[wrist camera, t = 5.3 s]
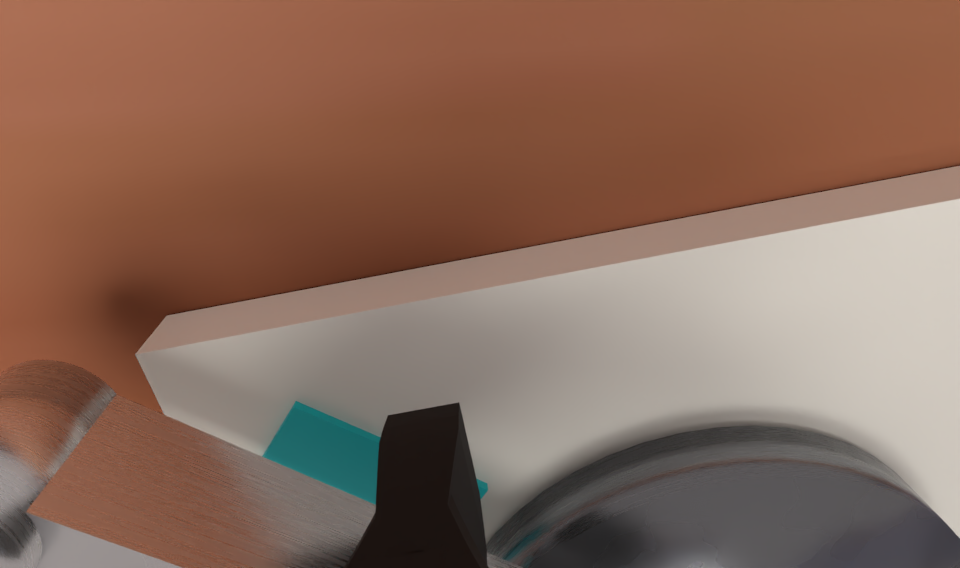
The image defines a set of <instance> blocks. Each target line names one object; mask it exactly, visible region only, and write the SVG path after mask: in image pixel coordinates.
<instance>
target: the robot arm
mask: <svg viewBox="0 0 960 568" xmlns="http://www.w3.org/2000/svg"><path fill="white" fill-rule="evenodd" d="M344 568H489V567H488V565H487V548H486V540H485V531H484V523H483V515H482V507H481V499H480V492H479V488H478V484H477V479H476V475H475V470H474V466H473V461H472V457H471V452H470V448H469V443H468V439H467V435H466V430H465V426H464V421H463V417H462V412H461V408H460V403H459V402H458V403H453V404H447V405H442V406H436V407H431V408H425V409H420V410H414V411H409V412H403V413H398V414H392V415H388V416H387V419H386V422H385V425H384V427H383V431H382V434H381V438H380V441H379V452H378V469H377V489H376V510H375V514H374V516H373V518H372V520H371V521H370V523H369V525H368V527H367V529H366V530H365V532H364V534H363V536H362V537H361V539H360V541H359V543H358V545H357V546H356V548H355V550H354V552H353V553H352V555H351V557H350V558H349V560H348V562H347V563H346V565H345V566H344Z"/></svg>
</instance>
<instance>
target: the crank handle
mask: <svg viewBox="0 0 960 568" xmlns="http://www.w3.org/2000/svg"><path fill="white" fill-rule="evenodd" d="M375 510H376V505H375V504H372V503H370V502H368V501H365V500H363V499H361V498H358V497H356V496H354V495H351V494H349V493H347V492H344V491H342V490H339V489H337V488H335V487H332V486H330V485H328V484H325V483H323V482H321V481H318V480H316V479H314V478H311V477H309V476H307V475H304V474H302V473H300V472H297V471H295V470H293V469H290V468H288V467H286V466H283V465H281V464H278V463H276V462H274V461H271V460H269V459H267V458H264V457H262V456H260V455H257V454H255V453H253V452H250V451H248V450H246V449H243V448H241V447H239V446H236V445H234V444H232V443H229V442H227V441H225V440H222V439H220V438H217V437H215V436H213V435H210V434H208V433H206V432H203V431H201V430H199V429H196V428H194V427H192V426H189V425H187V424H185V423H182V422H180V421H178V420H175V419H173V418H171V417H168V416H166V415H164V414H161V413H159V412H156V411H154V410H152V409H149V408H147V407H145V406H142V405H140V404H138V403H135V402H133V401H131V400H128V399H126V398H124V397H121V396H119V395H117V394H116V393H115V392H114V391H113V390H112V388H111V387H109V386H108V385H107V384H106V383H105V382H104V381H103V380H101V379H100V378H99V377H97V376H96V375H94V374H92V373H91V372H89V371H87V370H85V369H83V368H80V367H78V366H75V365H72V364H68V363H65V362H59V361H53V360H33V361H27V362H23V363H19V364H16V365H14V366H12V367H10V368H8V369H6V370H5V371H3V372H2V373H1V374H0V568H344V566H345V565H346V563H347V562H348V560H349V558H350V557H351V555H352V553H353V552H354V550H355V548H356V546H357V545H358V543H359V541H360V539H361V537H362V536H363V534H364V532H365V530H366V529H367V527H368V525H369V523H370V521H371V520H372V518H373V516H374V514H375ZM486 548H487V565H488V567H489V568H960V538H959V537H958V536H957V535H956V534H955V533H954V532H953V530H952V529H951V528H950V527H949V526H948V525H947V524H946V523H945V522H944V521H943V520H942V519H941V518H940V517H939V516H938V515H937V514H936V513H935V512H934V511H933V510H932V509H931V508H930V507H929V506H928V504H927V503H926V502H925V501H924V500H923V499H922V498H921V497H920V496H919V495H918V494H917V493H916V492H915V491H914V490H913V489H912V488H911V487H910V486H909V485H908V484H907V483H906V482H905V481H904V480H903V479H902V478H901V477H900V476H899V475H898V474H897V473H896V472H895V471H893V470H892V469H891V468H889V467H888V466H887V465H886V464H884V463H883V462H882V461H880V460H879V459H878V458H876V457H875V456H873V455H871V454H869V453H867V452H865V451H863V450H861V449H860V448H858V447H856V446H854V445H852V444H850V443H847V442H844V441H841V440H838V439H835V438H832V437H829V436H826V435H823V434H819V433H814V432H809V431H803V430H798V429H793V428H784V427H769V426H733V427H716V428H709V429H703V430H696V431H690V432H683V433H678V434H674V435H670V436H666V437H663V438H659V439H655V440H651V441H647V442H643V443H641V444H638V445H635V446H632V447H630V448H627V449H624V450H621V451H619V452H616V453H613V454H611V455H608V456H606V457H604V458H602V459H600V460H597V461H595V462H593V463H591V464H589V465H587V466H585V467H583V468H581V469H579V470H577V471H575V472H573V473H571V474H570V475H568V476H567V477H565V478H563V479H562V480H560V481H559V482H557V483H555V484H554V485H552V486H550V487H549V488H547V489H546V490H544V491H543V492H541V493H540V494H539V495H538V496H536V497H535V498H534V499H532V500H531V501H530V502H529V503H527V504H526V505H525V506H524V507H522V508H521V509H520V510H518V511H517V512H516V513H515V514H514V515H513V516H512V517H511V518H510V519H509V520H508V521H507V522H506V523H505V524H504V525H503V526H502V527H501V528H500V529H499V530H498V531H497V532H496V533H495V534H494V535H493V537H492V538H491V539H490V540H489V542H488V543H487V544H486Z"/></svg>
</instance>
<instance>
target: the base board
mask: <svg viewBox="0 0 960 568" xmlns="http://www.w3.org/2000/svg"><path fill="white" fill-rule="evenodd" d="M135 356H136V358H137V360H138V362H139V364H140V366H141V368H142V370H143V372H144V374H145V376H146V378H147V380H148V382H149V384H150V386H151V388H152V390H153V392H154V394H155V396H156V398H157V401H158V403H159V405H160V407H161V409H162V411H163V413H164V415H166V416H168V417H171V418H173V419H175V420H178V421H180V422H182V423H185V424H187V425H189V426H192V427H194V428H196V429H199V430H201V431H203V432H206V433H208V434H210V435H213V436H215V437H217V438H220V439H222V440H225V441H227V442H229V443H232V444H234V445H236V446H239V447H241V448H243V449H246V450H248V451H250V452H253V453H255V454H257V455H260V456H262V457H264V458H267V459H269V460H271V461H274V462H276V463H278V464H281V465H283V466H286V467H288V468H290V469H293V470H295V471H297V472H300V473H302V474H304V475H307V476H309V477H311V478H314V479H316V480H318V481H321V482H323V483H325V484H328V485H330V486H332V487H335V488H337V489H339V490H342V491H344V492H347V493H349V494H351V495H354V496H356V497H358V498H361V499H363V500H365V501H368V502H370V503H372V504H375V505H376V489H377V469H378V452H379V441H380V438H381V434H382V431H383V427H384V425H385V422H386V419H387V416H388V415H392V414H398V413H403V412H409V411H414V410H420V409H425V408H431V407H436V406H442V405H447V404H453V403H458V402H459V403H460V408H461V412H462V417H463V421H464V426H465V430H466V435H467V439H468V443H469V448H470V452H471V457H472V461H473V466H474V470H475V475H476V479H477V484H478V488H479V492H480V499H481V507H482V515H483V523H484V531H485V540H486V544H487V543H488V542H489V540H490V539H491V538H492V537H493V535H494V534H495V533H496V532H497V531H498V530H499V529H500V528H501V527H502V526H503V525H504V524H505V523H506V522H507V521H508V520H509V519H510V518H511V517H512V516H513V515H514V514H515V513H516V512H517V511H518V510H520V509H521V508H522V507H524V506H525V505H526V504H527V503H529V502H530V501H531V500H532V499H534V498H535V497H536V496H538V495H539V494H540V493H541V492H543V491H544V490H546V489H547V488H549V487H550V486H552V485H554V484H555V483H557V482H559V481H560V480H562V479H563V478H565V477H567V476H568V475H570V474H571V473H573V472H575V471H577V470H579V469H581V468H583V467H585V466H587V465H589V464H591V463H593V462H595V461H597V460H600V459H602V458H604V457H606V456H608V455H611V454H613V453H616V452H619V451H621V450H624V449H627V448H630V447H632V446H635V445H638V444H641V443H643V442H647V441H651V440H655V439H659V438H663V437H666V436H670V435H674V434H678V433H683V432H690V431H696V430H703V429H709V428H716V427H733V426H769V427H784V428H793V429H798V430H803V431H809V432H814V433H819V434H823V435H826V436H829V437H832V438H835V439H838V440H841V441H844V442H847V443H850V444H852V445H854V446H856V447H858V448H860V449H861V450H863V451H865V452H867V453H869V454H871V455H873V456H875V457H876V458H878V459H879V460H880V461H882V462H883V463H884V464H886V465H887V466H888V467H889V468H891V469H892V470H893V471H895V472H896V473H897V474H898V475H899V476H900V477H901V478H902V479H903V480H904V481H905V482H906V483H907V484H908V485H909V486H910V487H911V488H912V489H913V490H914V491H915V492H916V493H917V494H918V495H919V496H920V497H921V498H922V499H923V500H924V501H925V502H926V503H927V504H928V506H929V507H930V508H931V509H932V510H933V511H934V512H935V513H936V514H937V515H938V516H939V517H940V518H941V519H942V520H943V521H944V522H945V523H946V524H947V525H948V526H949V527H950V528H951V529H952V530H953V532H954V533H955V534H956V535H957V536H958V537H959V538H960V166H956V167H950V168H945V169H940V170H934V171H929V172H924V173H919V174H913V175H908V176H903V177H897V178H892V179H887V180H882V181H876V182H871V183H866V184H860V185H855V186H850V187H845V188H839V189H834V190H829V191H823V192H818V193H813V194H808V195H802V196H797V197H792V198H786V199H781V200H776V201H770V202H765V203H760V204H755V205H749V206H744V207H739V208H733V209H728V210H723V211H718V212H712V213H707V214H702V215H696V216H691V217H686V218H681V219H675V220H670V221H665V222H659V223H654V224H649V225H644V226H638V227H633V228H628V229H622V230H617V231H612V232H606V233H601V234H596V235H591V236H585V237H580V238H575V239H569V240H564V241H559V242H554V243H548V244H543V245H538V246H532V247H527V248H522V249H517V250H511V251H506V252H501V253H495V254H490V255H485V256H480V257H474V258H469V259H464V260H458V261H453V262H448V263H442V264H437V265H432V266H427V267H421V268H416V269H411V270H405V271H400V272H395V273H390V274H384V275H379V276H374V277H368V278H363V279H358V280H353V281H347V282H342V283H337V284H331V285H326V286H321V287H316V288H310V289H305V290H300V291H294V292H289V293H284V294H278V295H273V296H268V297H263V298H257V299H252V300H247V301H241V302H236V303H231V304H226V305H220V306H215V307H210V308H204V309H199V310H194V311H189V312H183V313H178V314H173V315H167V316H166V317H165V318H164V319H163V321H162V322H161V323H160V324H159V326H158V327H157V328H156V329H155V330H154V332H153V333H152V334H151V335H150V337H149V338H148V339H147V340H146V342H145V343H144V344H143V345H142V347H141V348H140V349H139V350H138V352H137V353H136V354H135Z"/></svg>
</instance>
